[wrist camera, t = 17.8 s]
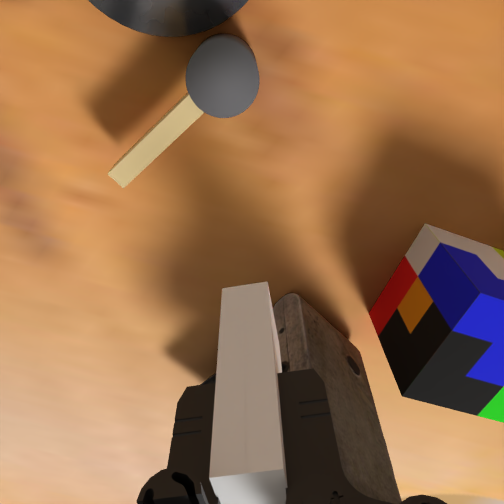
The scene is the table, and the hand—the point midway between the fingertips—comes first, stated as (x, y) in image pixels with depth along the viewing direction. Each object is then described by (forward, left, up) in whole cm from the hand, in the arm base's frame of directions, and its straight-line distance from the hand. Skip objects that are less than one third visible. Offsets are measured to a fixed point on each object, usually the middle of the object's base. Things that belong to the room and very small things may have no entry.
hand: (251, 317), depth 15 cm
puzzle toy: (+20, -10, -21) cm, 31 cm away
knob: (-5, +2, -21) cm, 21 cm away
